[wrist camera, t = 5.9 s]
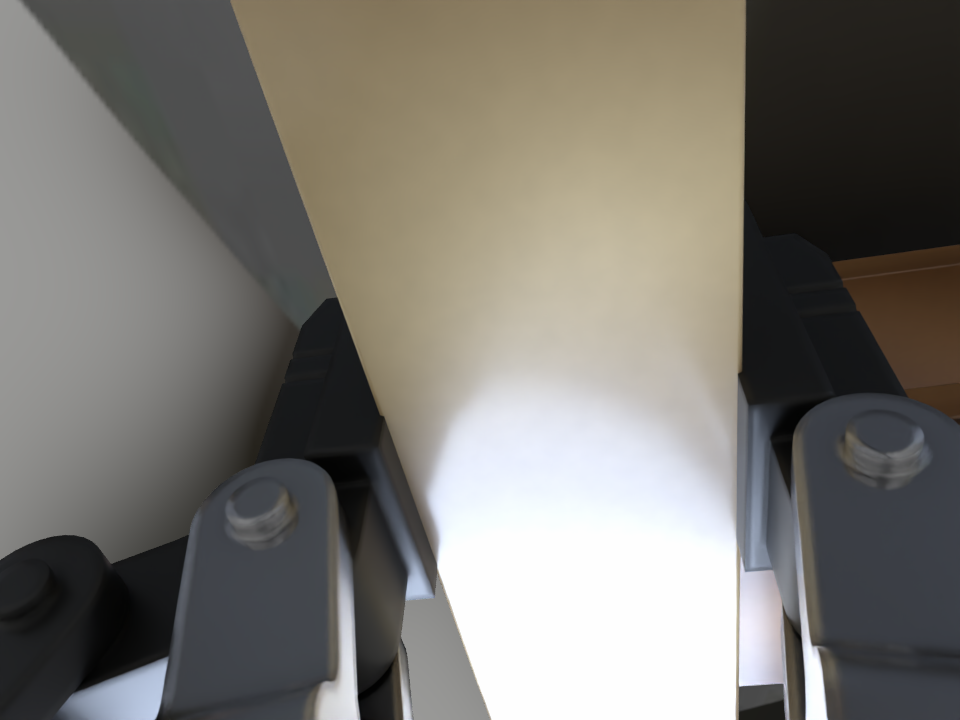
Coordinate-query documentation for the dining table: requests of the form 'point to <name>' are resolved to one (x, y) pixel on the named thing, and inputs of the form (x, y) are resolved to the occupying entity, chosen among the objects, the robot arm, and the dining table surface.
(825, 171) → the dining table surface
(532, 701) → the beech stick
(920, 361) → the shelf
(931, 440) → the robot arm
